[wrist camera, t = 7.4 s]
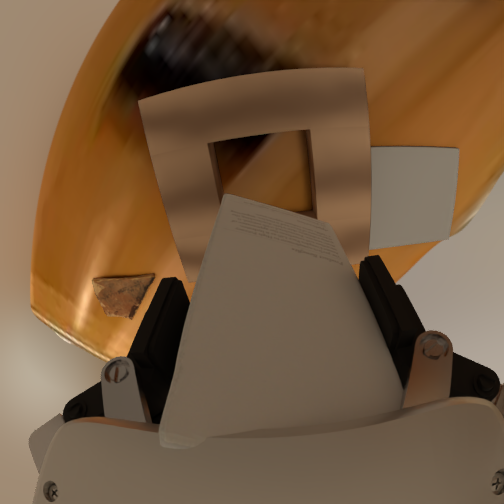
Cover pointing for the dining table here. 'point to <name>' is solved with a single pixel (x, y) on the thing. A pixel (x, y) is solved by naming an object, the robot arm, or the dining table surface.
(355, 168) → the walnut holder
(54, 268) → the dining table surface
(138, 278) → the shard
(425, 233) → the grey mat
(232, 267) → the skincare box
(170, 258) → the dining table surface
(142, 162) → the dining table surface
